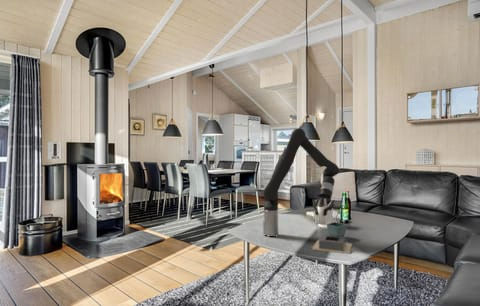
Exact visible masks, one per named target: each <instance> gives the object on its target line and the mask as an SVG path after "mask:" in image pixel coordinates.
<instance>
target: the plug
mask: <svg viewBox="0 0 480 306" xmlns="http://www.w3.org/2000/svg"><path fill="white" fill-rule="evenodd" d="M324 209H325V207H324V206H323V204H322V199H321V198H320V204H319V206H318V216H317V221H318V222H317V225H318V224H321V225H324V224H325V216H324V215H323V213H324Z"/></svg>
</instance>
